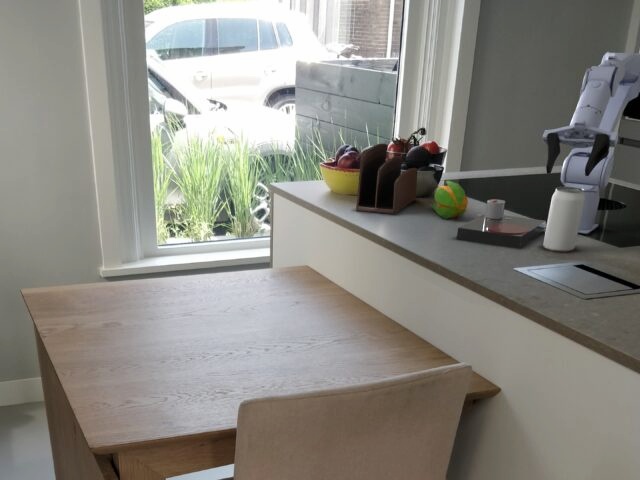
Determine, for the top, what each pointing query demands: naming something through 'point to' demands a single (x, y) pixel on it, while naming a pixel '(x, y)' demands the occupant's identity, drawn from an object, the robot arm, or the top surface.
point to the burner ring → (508, 228)
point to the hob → (481, 234)
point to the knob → (495, 209)
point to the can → (564, 219)
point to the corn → (450, 200)
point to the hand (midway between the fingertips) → (567, 171)
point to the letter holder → (384, 182)
